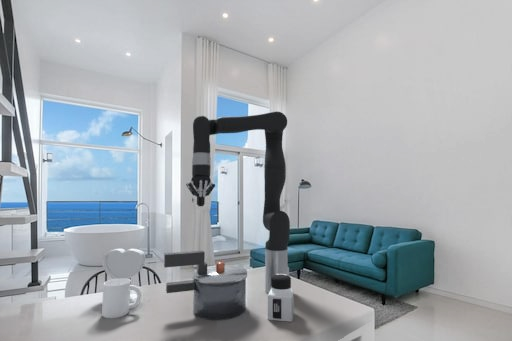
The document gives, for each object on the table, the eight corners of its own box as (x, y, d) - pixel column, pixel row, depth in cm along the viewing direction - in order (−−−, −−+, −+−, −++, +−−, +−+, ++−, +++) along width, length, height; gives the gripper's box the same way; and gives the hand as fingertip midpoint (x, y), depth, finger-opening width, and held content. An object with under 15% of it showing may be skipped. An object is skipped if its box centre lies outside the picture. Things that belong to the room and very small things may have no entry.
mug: (143, 307, 99) (144, 277, 100) (137, 317, 91) (138, 284, 92) (107, 309, 98) (109, 278, 99) (97, 319, 90) (99, 286, 91)
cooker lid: (237, 267, 112) (237, 244, 113) (255, 280, 94) (255, 253, 95) (161, 274, 102) (162, 249, 102) (165, 290, 84) (166, 260, 85)
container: (291, 322, 88) (291, 279, 90) (267, 320, 90) (267, 277, 91) (293, 312, 96) (293, 273, 97) (271, 310, 98) (271, 271, 99)
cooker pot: (236, 297, 110) (237, 268, 111) (252, 315, 94) (253, 280, 95) (164, 306, 101) (165, 274, 102) (167, 328, 84) (168, 290, 85)
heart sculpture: (98, 298, 108) (101, 250, 110) (105, 294, 113) (108, 248, 115) (139, 298, 108) (141, 250, 110) (144, 294, 113) (146, 248, 115)
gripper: (191, 162, 111) (190, 206, 110) (219, 164, 120) (219, 206, 118) (182, 164, 117) (181, 206, 115) (210, 166, 125) (209, 205, 124)
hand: (200, 206), depth 117 cm, fingers closed
